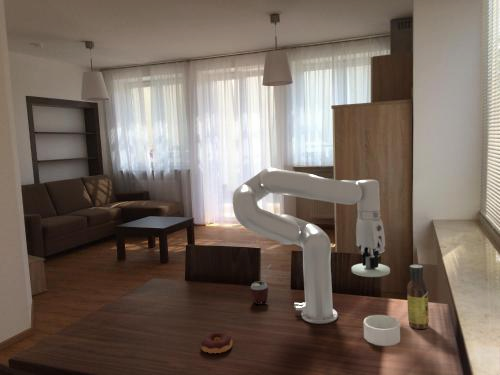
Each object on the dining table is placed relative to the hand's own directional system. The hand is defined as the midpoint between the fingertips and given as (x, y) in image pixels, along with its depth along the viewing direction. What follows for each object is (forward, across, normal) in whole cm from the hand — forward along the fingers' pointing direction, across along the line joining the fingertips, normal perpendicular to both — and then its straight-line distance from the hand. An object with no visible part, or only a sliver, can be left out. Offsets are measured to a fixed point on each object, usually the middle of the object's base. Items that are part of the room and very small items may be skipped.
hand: (370, 265), depth 145 cm
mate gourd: (+18, +31, +28) cm, 46 cm away
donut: (+18, +7, +56) cm, 60 cm away
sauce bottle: (+17, -16, -5) cm, 24 cm away
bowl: (+17, -16, +10) cm, 26 cm away
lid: (+2, 0, 0) cm, 2 cm away
